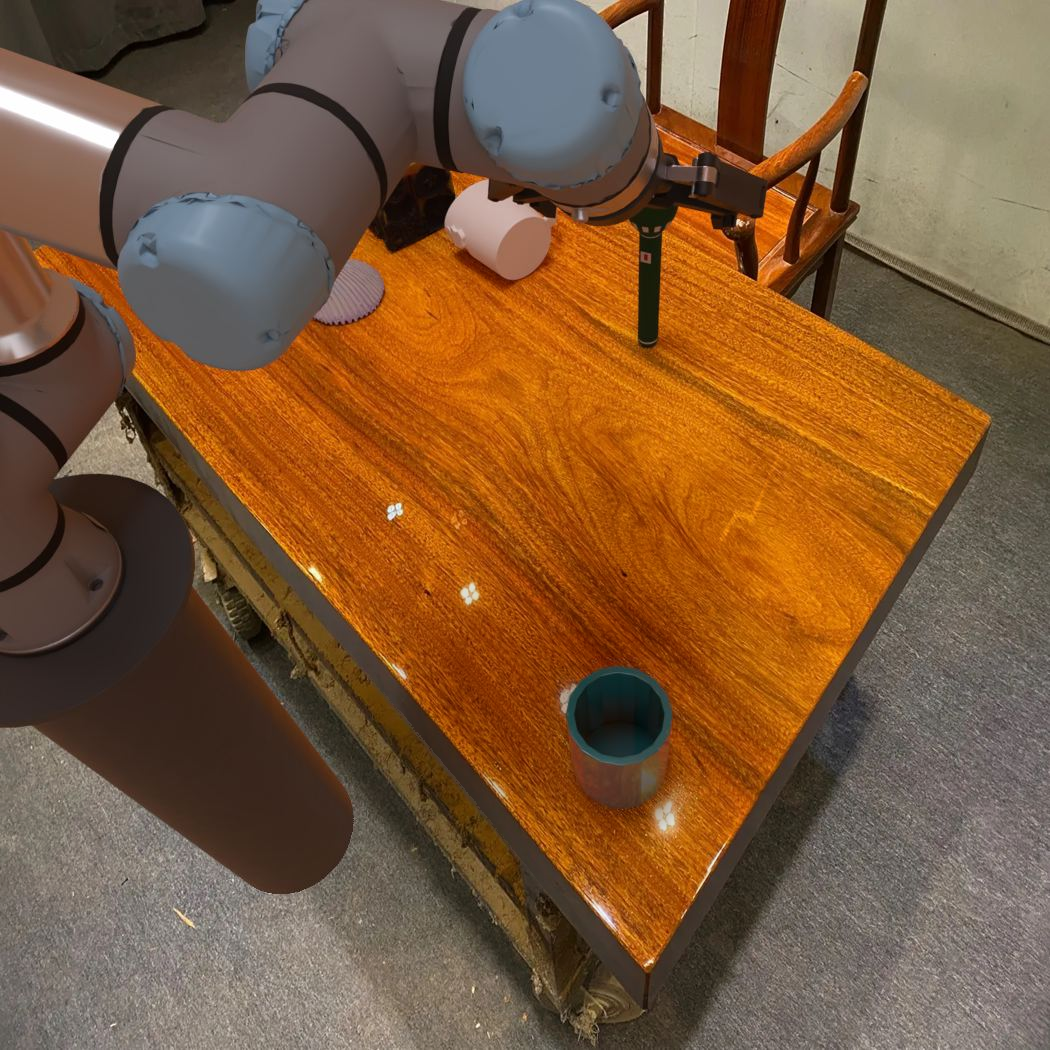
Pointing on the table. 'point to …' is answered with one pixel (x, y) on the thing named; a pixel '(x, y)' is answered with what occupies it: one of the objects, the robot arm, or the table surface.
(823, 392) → the table surface
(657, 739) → the cup
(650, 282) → the flashlight
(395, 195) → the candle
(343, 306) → the seashell
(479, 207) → the mug
